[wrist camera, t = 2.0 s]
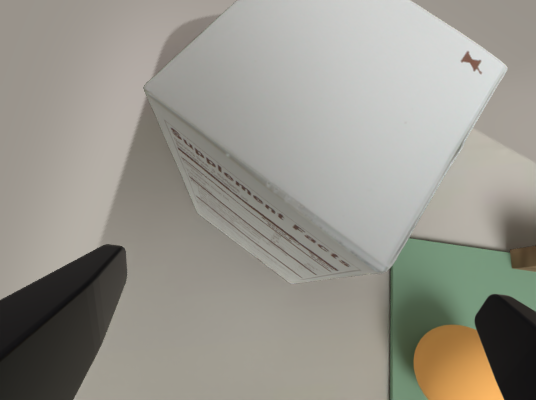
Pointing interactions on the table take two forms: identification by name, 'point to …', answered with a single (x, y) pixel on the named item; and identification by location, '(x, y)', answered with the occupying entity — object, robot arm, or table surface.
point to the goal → (524, 258)
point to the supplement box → (321, 126)
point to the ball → (454, 365)
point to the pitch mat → (443, 298)
